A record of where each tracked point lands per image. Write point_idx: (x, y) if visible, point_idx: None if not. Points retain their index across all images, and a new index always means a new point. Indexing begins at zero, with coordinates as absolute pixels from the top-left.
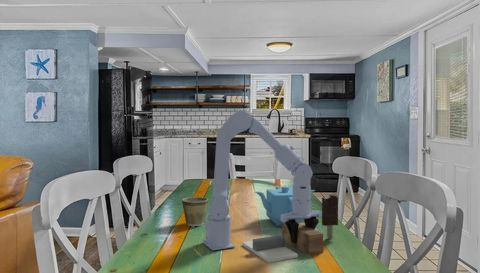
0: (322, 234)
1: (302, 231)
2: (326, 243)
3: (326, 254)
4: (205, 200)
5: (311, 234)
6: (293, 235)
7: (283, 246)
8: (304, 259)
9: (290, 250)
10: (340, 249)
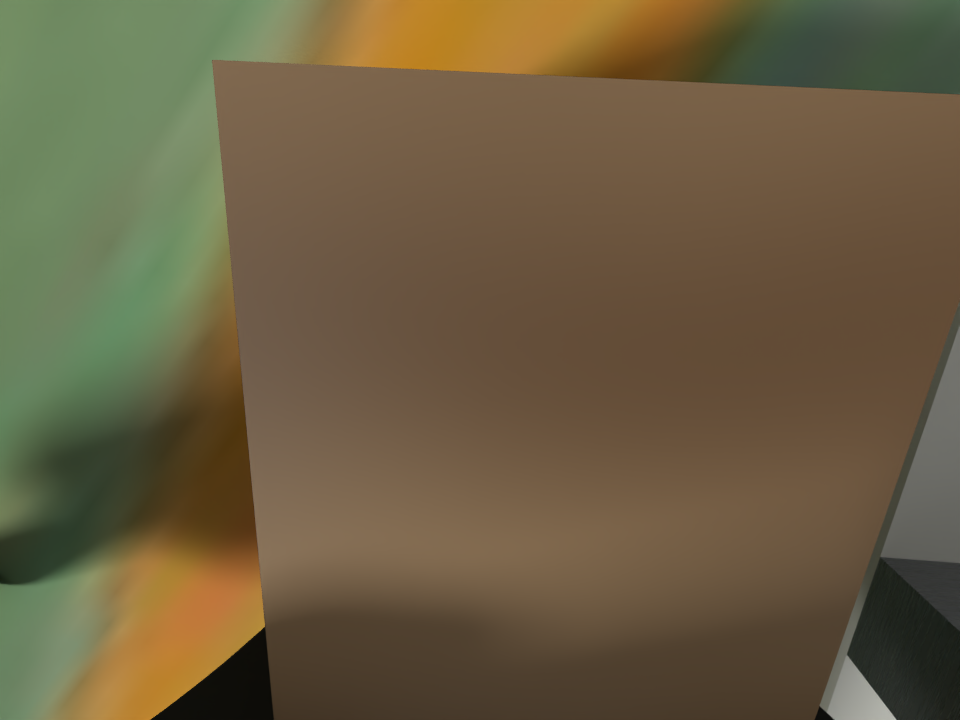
0: (276, 75)
1: (799, 646)
2: (118, 461)
3: (414, 38)
4: None
5: (843, 160)
6: None
7: (908, 565)
8: (947, 6)
9: (958, 376)
10: (46, 137)
